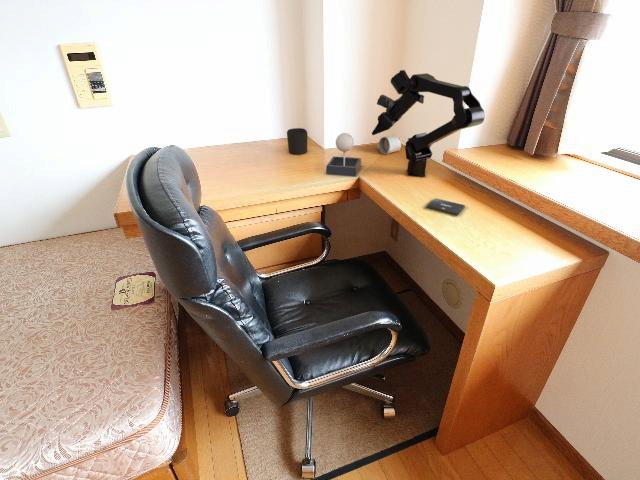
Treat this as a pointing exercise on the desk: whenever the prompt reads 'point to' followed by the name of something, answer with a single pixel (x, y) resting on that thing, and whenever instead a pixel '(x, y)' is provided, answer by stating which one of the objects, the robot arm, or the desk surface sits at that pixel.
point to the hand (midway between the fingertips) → (375, 131)
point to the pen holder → (297, 141)
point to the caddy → (344, 169)
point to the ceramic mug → (389, 144)
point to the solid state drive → (446, 206)
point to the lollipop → (344, 143)
